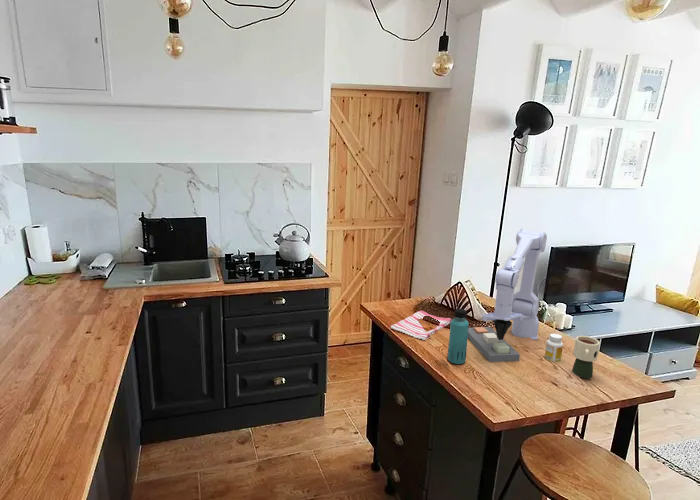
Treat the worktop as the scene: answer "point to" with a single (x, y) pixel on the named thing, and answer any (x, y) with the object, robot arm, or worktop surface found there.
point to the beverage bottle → (458, 337)
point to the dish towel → (419, 325)
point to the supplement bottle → (554, 348)
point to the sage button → (501, 348)
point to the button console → (491, 347)
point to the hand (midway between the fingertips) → (499, 338)
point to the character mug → (585, 356)
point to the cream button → (490, 338)
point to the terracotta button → (480, 330)
